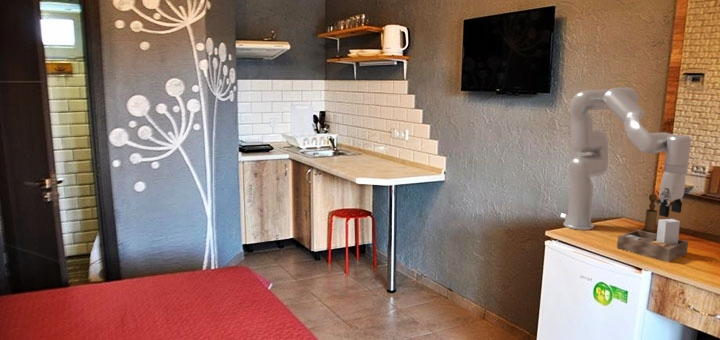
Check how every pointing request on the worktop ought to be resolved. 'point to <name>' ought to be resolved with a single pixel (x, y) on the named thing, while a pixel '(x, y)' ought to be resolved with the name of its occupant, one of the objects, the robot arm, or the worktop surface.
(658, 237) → the skincare box
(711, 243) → the worktop surface
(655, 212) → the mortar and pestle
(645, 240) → the socket block
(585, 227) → the robot arm
